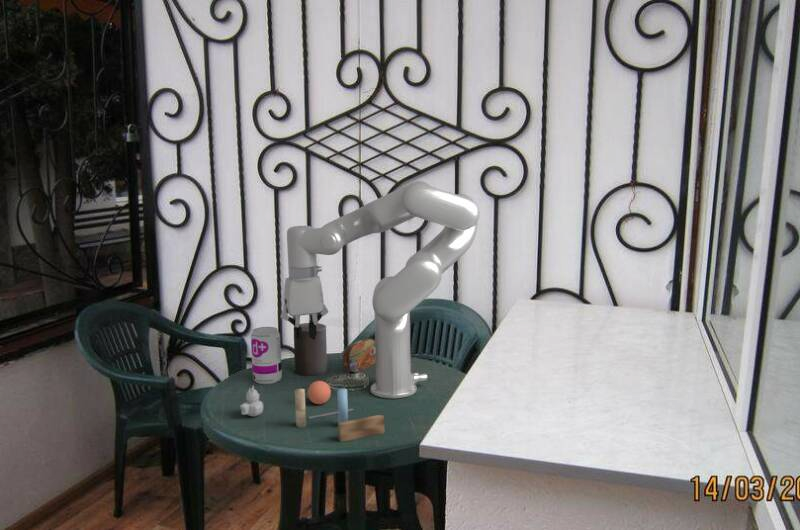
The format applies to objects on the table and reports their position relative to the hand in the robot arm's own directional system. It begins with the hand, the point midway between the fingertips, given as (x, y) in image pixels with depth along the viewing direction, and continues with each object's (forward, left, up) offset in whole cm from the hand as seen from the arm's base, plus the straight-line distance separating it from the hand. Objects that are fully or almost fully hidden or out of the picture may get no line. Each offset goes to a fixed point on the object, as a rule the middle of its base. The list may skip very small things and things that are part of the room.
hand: (305, 338), depth 195 cm
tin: (-21, -13, -16) cm, 29 cm away
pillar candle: (-7, -18, -16) cm, 24 cm away
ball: (0, +9, -12) cm, 15 cm away
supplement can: (+7, -16, -15) cm, 23 cm away
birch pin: (+9, +21, -15) cm, 28 cm away
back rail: (-1, +34, -15) cm, 38 cm away
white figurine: (+18, +9, -16) cm, 26 cm away
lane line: (0, +18, -15) cm, 24 cm away
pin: (0, +26, -15) cm, 31 cm away
